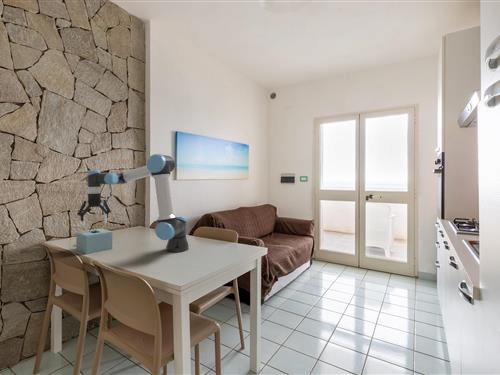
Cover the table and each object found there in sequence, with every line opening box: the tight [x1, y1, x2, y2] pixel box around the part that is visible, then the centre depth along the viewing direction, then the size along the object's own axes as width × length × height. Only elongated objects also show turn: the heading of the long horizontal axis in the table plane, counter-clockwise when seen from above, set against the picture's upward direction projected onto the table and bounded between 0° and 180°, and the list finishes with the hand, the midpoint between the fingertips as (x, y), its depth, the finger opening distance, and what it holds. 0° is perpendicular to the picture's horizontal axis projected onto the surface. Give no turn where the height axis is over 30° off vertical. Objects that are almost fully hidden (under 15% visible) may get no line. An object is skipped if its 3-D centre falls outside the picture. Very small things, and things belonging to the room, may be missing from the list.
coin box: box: [75, 228, 113, 255], centre depth 176 cm, size 16×16×12 cm
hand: (94, 224), depth 175 cm, fingers open, 13 cm apart
